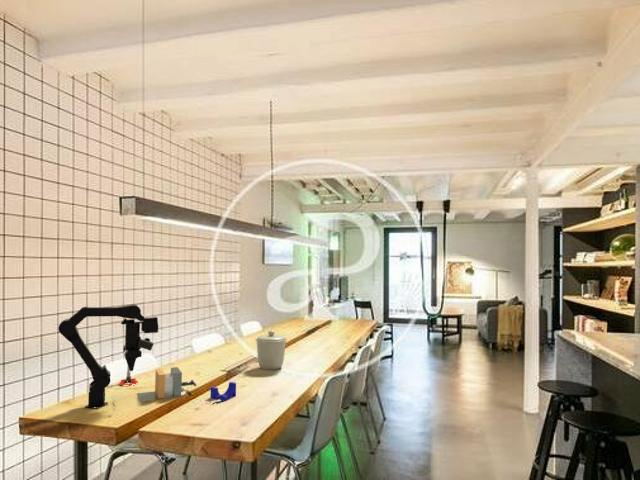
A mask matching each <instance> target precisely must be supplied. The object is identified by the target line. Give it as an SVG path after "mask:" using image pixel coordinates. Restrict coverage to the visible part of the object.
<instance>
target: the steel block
mask: <svg viewBox="0 0 640 480" xmlns="http://www.w3.org/2000/svg"><path fill="white" fill-rule="evenodd" d="M173 388H174V376H173V375H172V374H171V372H170V373H165V396H173Z"/></svg>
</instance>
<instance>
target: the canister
mask: <svg viewBox="0 0 640 480" xmlns="http://www.w3.org/2000/svg"><path fill="white" fill-rule="evenodd" d="M287 340H288V338H287V337H286V336H283V335H279V334H275V331H274V330H268V333H267V334H265V335H264V334H263V335H259V336H257V337H256V338H255V342H256V350H257V360H258V365H259V366H258V367H260V368H261V369H262V370H266V371H267V370H269V371H271V370H278V369H280V368H282V367H283V365H284V360H285V351H286V350H285V349H286V342H287Z"/></svg>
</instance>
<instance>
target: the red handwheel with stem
mask: <svg viewBox="0 0 640 480" xmlns="http://www.w3.org/2000/svg"><path fill="white" fill-rule="evenodd" d="M126 367H127V368H126V369H127V371H126V378H125V379H121V380H120V382H119V384H120V385H132V384H136V383H137V384H138V383H139V381H138V380H137V378H132V376H131V371H130V369H129V367H128V366H126ZM127 381H131V382H130V383H128V382H127ZM125 382H126V383H125ZM137 384H136V385H137ZM120 385H119V386H120Z"/></svg>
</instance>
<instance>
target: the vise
mask: <svg viewBox="0 0 640 480" xmlns="http://www.w3.org/2000/svg"><path fill="white" fill-rule="evenodd" d="M170 373H171V374H172V375H173V376H174V388H173V396H165V398H160V399H158V397H157V395H156V392H155V390H154V391H147V392H137V393H136V394H137V397H138V398H137V399H138V401H139V402H150V401H156V400H164V399H171V398H172V399H173V398H174V399H175V398H180V397H188V396H189V394H188V392H187V393H186V394H184V395H181V392H183V391H186V390H185V388H184V387H185V386H186V387H188V386H194V387H197V383H196V382H195V381H194V380H193V379H191V380H190V381H183V372H182V371H181V370H180V369H179V367H178V366H177V367H176V366H175V367H170Z"/></svg>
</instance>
